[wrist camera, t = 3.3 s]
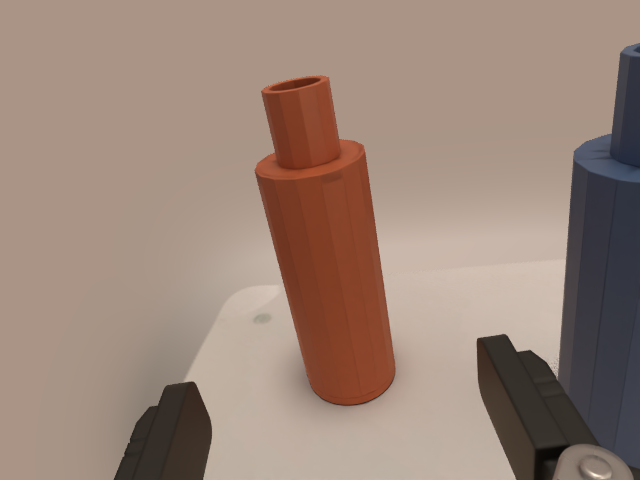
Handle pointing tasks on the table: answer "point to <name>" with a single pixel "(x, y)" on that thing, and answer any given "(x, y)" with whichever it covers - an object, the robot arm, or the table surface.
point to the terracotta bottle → (326, 243)
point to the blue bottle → (606, 276)
